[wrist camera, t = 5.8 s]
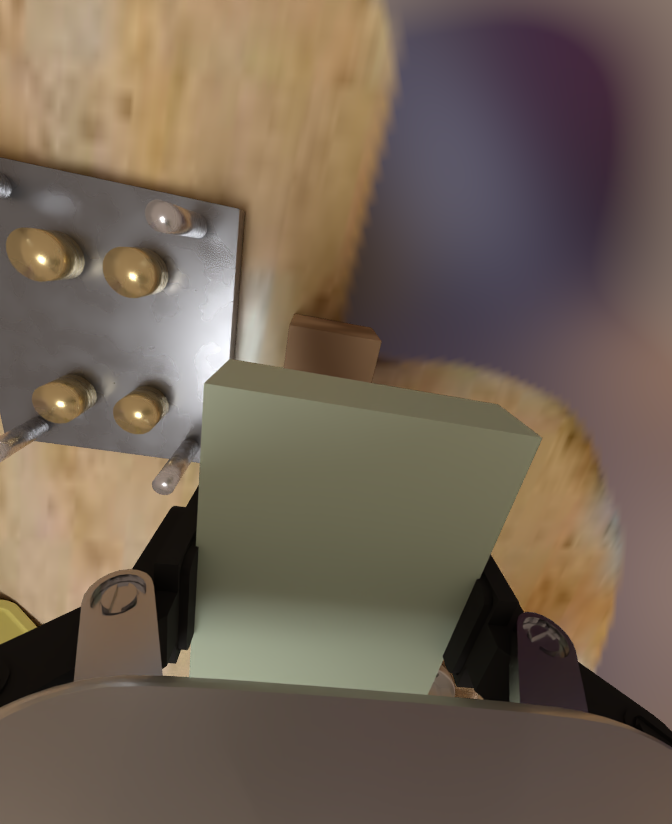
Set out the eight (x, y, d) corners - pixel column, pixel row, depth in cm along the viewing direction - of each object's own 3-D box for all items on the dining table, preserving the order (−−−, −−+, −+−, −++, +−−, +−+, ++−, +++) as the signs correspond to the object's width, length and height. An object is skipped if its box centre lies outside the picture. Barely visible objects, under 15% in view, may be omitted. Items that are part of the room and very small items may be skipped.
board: (498, 404, 9) (542, 438, 7) (396, 672, 13) (408, 738, 11) (229, 358, 9) (204, 383, 7) (206, 657, 12) (187, 724, 11)
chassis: (245, 212, 20) (216, 194, 14) (227, 454, 26) (202, 507, 20) (-28, 153, 18) (-180, 108, 13) (22, 427, 24) (-64, 476, 19)
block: (371, 327, 23) (381, 341, 19) (347, 436, 26) (351, 465, 22) (294, 313, 22) (289, 324, 18) (279, 426, 25) (272, 454, 21)
